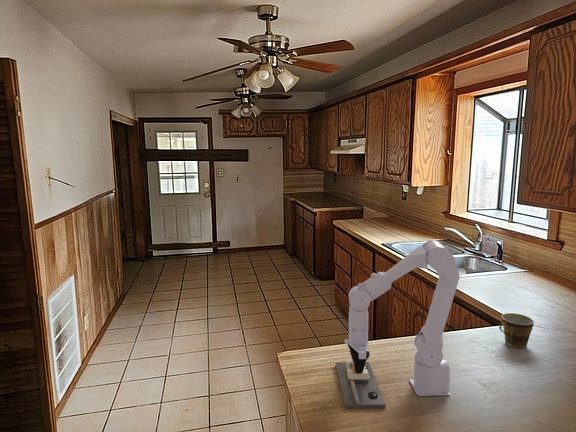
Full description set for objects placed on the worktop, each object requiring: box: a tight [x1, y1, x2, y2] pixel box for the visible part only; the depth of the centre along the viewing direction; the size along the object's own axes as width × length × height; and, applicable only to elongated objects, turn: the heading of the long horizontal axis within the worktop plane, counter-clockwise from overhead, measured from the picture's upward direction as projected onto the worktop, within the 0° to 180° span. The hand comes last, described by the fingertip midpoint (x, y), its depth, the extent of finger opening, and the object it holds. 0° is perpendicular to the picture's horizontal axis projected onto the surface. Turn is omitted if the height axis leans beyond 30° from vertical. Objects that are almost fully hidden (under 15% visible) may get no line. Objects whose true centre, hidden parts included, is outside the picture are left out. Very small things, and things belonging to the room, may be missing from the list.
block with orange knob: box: [347, 362, 370, 379], centre depth 117 cm, size 7×3×6 cm, turn 90°
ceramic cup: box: [499, 312, 535, 350], centre depth 139 cm, size 13×10×10 cm
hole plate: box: [335, 357, 386, 410], centre depth 117 cm, size 11×22×4 cm, turn 0°
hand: (357, 369), depth 117 cm, fingers closed on block with orange knob, 3 cm apart
